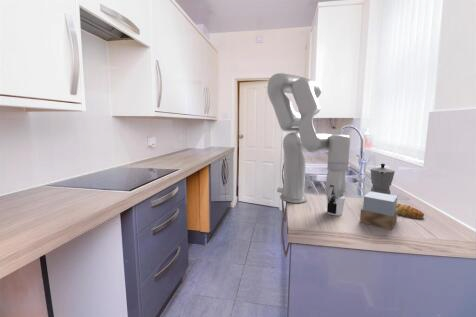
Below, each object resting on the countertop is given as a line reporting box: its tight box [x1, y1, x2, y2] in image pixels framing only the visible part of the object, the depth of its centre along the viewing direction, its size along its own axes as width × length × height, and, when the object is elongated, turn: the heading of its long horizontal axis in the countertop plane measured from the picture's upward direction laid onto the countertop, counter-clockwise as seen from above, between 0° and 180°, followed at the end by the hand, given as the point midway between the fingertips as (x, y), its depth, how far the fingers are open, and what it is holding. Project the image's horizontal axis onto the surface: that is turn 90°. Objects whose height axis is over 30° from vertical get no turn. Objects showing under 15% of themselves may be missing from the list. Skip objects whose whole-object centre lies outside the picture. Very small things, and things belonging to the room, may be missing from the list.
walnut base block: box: [359, 207, 398, 231], centre depth 87 cm, size 10×10×5 cm
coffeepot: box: [370, 163, 396, 195], centre depth 109 cm, size 15×9×18 cm, turn 148°
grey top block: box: [362, 190, 398, 216], centre depth 86 cm, size 9×9×5 cm
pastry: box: [396, 202, 425, 220], centre depth 94 cm, size 9×7×4 cm
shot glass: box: [326, 194, 346, 216], centre depth 95 cm, size 7×7×7 cm
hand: (334, 210), depth 95 cm, fingers closed on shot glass, 6 cm apart
